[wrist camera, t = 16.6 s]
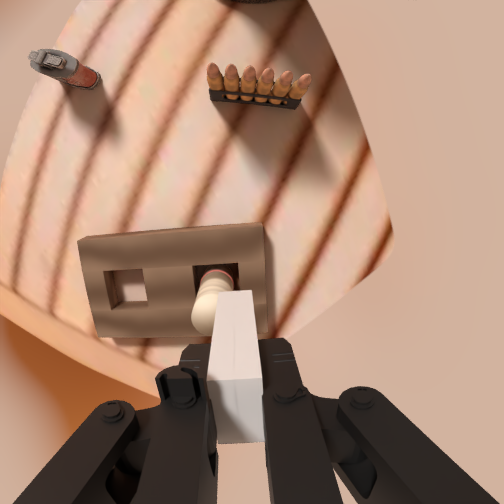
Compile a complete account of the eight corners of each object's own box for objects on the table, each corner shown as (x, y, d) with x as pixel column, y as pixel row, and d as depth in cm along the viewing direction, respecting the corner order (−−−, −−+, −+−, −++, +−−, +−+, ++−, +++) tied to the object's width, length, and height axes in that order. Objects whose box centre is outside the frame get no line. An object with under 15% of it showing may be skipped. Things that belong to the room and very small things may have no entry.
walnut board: (86, 236, 39) (77, 241, 37) (261, 222, 40) (263, 226, 37) (105, 327, 43) (98, 337, 40) (266, 322, 44) (267, 332, 41)
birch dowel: (200, 263, 41) (187, 299, 30) (233, 261, 41) (231, 297, 30) (204, 293, 42) (193, 338, 31) (235, 291, 42) (235, 335, 31)
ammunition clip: (210, 100, 36) (199, 72, 24) (212, 87, 36) (202, 54, 24) (295, 109, 37) (318, 86, 25) (296, 96, 36) (320, 68, 25)
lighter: (53, 80, 33) (15, 64, 24) (64, 59, 33) (28, 40, 23) (93, 94, 35) (57, 77, 25) (105, 72, 34) (71, 50, 24)
